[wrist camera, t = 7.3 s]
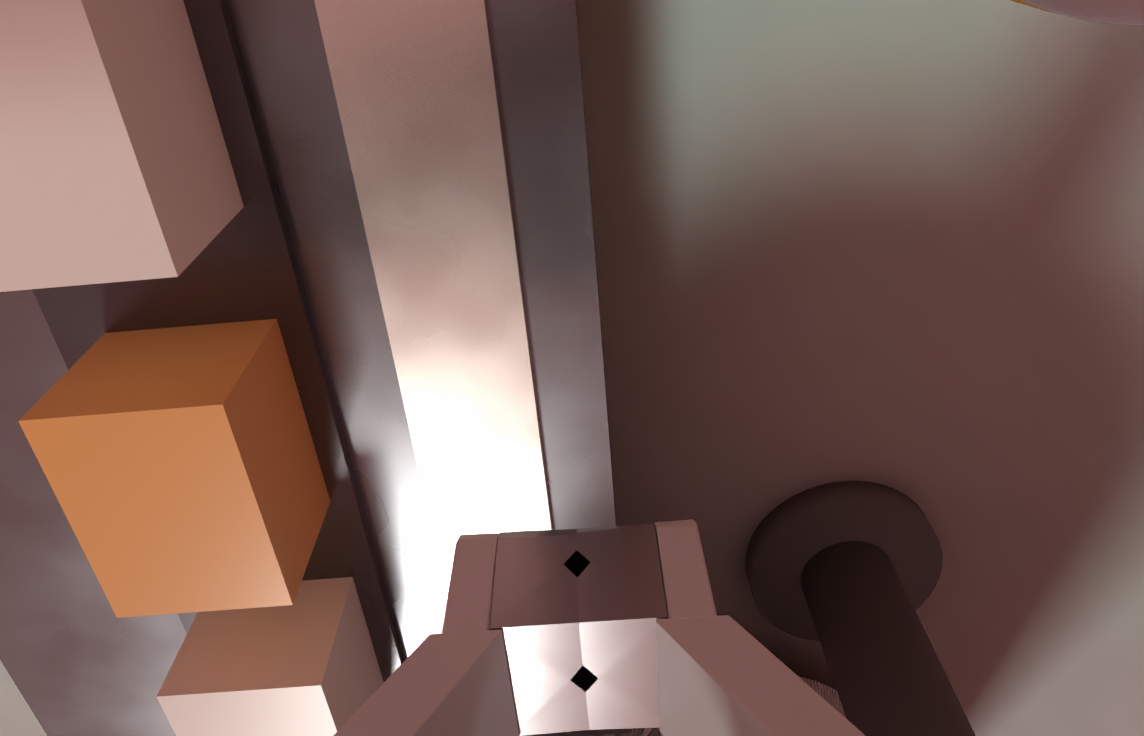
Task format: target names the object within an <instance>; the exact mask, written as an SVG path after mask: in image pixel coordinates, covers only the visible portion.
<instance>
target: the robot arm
mask: <svg viewBox="0 0 1144 736" xmlns="http://www.w3.org/2000/svg"><path fill="white" fill-rule="evenodd" d="M630 728H660V732H661V733H662V735H663V736H865V735H864V734H863V733H862V732H861V731H860V730H859V729H857V728H856V727H855V726H854V725H853V724H852V723H851V722H850V721H848V720H847V719H846V718H845V717H844V716H843V715H842V714H840V713H839V712H838V711H837V710H836V709H835V708H834V707H833V706H831V705H830V704H829V703H828V702H827V701H826V700H825V699H823V698H822V697H821V696H820V695H819V694H818V693H817V692H816V691H814V690H813V689H812V688H811V687H810V686H809V685H808V684H806V683H805V682H804V681H803V680H802V679H801V678H800V677H798V676H797V675H796V674H795V673H794V672H793V671H792V670H791V669H789V668H788V667H787V666H786V665H785V664H784V663H783V662H781V661H780V660H779V659H778V658H777V657H776V656H775V655H774V654H772V653H771V652H770V651H769V650H768V649H767V648H766V647H764V646H763V645H762V644H761V643H760V642H759V641H758V640H757V639H755V638H754V637H753V636H752V635H751V634H750V633H749V632H747V631H746V630H745V629H744V628H743V627H742V626H741V625H740V624H738V623H737V622H736V621H735V620H734V619H733V618H732V617H730V616H729V615H722V616H717V614H716V609H715V605H714V600H713V596H712V591H711V586H710V582H709V577H708V572H707V568H706V563H705V558H704V554H703V549H702V544H701V540H700V535H699V530H698V526H697V523H696V522H695V521H694V520H693V519H688V520H677V521H665V522H655V524H653V523H650V524H636V525H622V526H609V527H595V528H582V529H563V530H540V531H517V532H500V533H499V534H498V533H489V534H465V535H460V536H459V538H458V540H457V542H456V544H455V550H454V557H453V563H452V570H451V576H450V583H449V589H448V596H447V602H446V608H445V615H444V621H443V628H442V633H439V634H430V635H429V636H428V637H427V638H426V639H425V640H424V641H423V642H422V643H421V644H420V645H419V646H418V647H417V648H416V649H415V650H414V651H413V652H412V653H411V655H410V656H409V657H408V658H407V659H406V660H405V661H404V662H403V663H402V664H401V665H400V666H399V667H398V668H397V669H396V670H395V671H394V672H393V673H392V675H391V676H390V677H389V678H388V679H387V680H386V681H385V682H384V683H383V684H382V685H381V686H380V687H379V688H378V689H377V690H376V691H375V692H374V693H373V694H372V696H371V697H370V698H369V699H368V700H367V701H366V702H365V703H364V704H363V705H362V706H361V707H360V708H359V709H358V710H357V711H356V712H355V713H354V714H353V715H352V717H351V718H350V719H349V720H348V721H347V722H346V723H345V724H344V725H343V726H342V727H341V728H340V729H339V730H338V731H337V732H336V733H335V734H334V735H333V736H525V735H536V734H548V733H559V732H570V731H581V730H589V729H590V730H600V729H630Z"/></svg>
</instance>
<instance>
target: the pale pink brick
mask: <svg viewBox="0 0 1144 736" xmlns="http://www.w3.org/2000/svg"><path fill="white" fill-rule="evenodd" d="M383 683H384V682H383V679H382V675H381V672H380V668H379V665H378V662H377V658H376V655H375V651H374V648H373V645H372V641H371V638H370V634H369V631H368V628H367V624H366V621H365V617H364V614H363V611H362V607H361V604H360V600H359V597H358V594H357V590H356V587H355V583H354V580H353V577H345V578H331V579H318V580H304V581H301V584H300V587H299V589H298V592H297V595H296V598H295V600H294V603H293V605H287V606H273V607H259V608H245V609H232V610H218V611H204V612H198V613H197V615H196V617H195V619H194V621H193V623H192V625H191V627H190V629H189V631H188V633H187V635H186V637H185V639H184V641H183V643H182V645H181V648H180V650H179V652H178V654H177V656H176V658H175V660H174V662H173V664H172V666H171V668H170V670H169V672H168V674H167V676H166V678H165V680H164V682H163V684H162V686H161V688H160V691H159V693H158V695H157V699H158V701H159V703H160V705H161V707H162V709H163V711H164V713H165V715H166V717H167V719H168V721H169V723H170V725H171V727H172V729H173V731H174V733H175V735H176V736H333V735H334V734H335V733H336V732H337V731H338V730H339V729H340V728H341V727H342V726H343V725H344V724H345V723H346V722H347V721H348V720H349V719H350V718H351V717H352V715H353V714H354V713H355V712H356V711H357V710H358V709H359V708H360V707H361V706H362V705H363V704H364V703H365V702H366V701H367V700H368V699H369V698H370V697H371V696H372V694H373V693H374V692H375V691H376V690H377V689H378V688H379V687H380V686H381V685H382V684H383Z"/></svg>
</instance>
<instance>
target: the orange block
mask: <svg viewBox="0 0 1144 736" xmlns="http://www.w3.org/2000/svg"><path fill="white" fill-rule="evenodd" d="M18 422H19V424H20V426H21V428H22V430H23V432H24V434H25V436H26V438H27V440H28V442H29V444H30V446H31V448H32V450H33V452H34V454H35V456H36V458H37V460H38V462H39V464H40V466H41V468H42V470H43V472H44V474H45V476H46V477H47V479H48V481H49V483H50V485H51V487H52V489H53V491H54V493H55V495H56V497H57V499H58V501H59V503H60V505H61V507H62V509H63V511H64V513H65V515H66V517H67V519H68V521H69V523H70V525H71V527H72V529H73V531H74V533H75V535H76V537H77V539H78V541H79V543H80V545H81V547H82V549H83V551H84V553H85V555H86V557H87V559H88V561H89V563H90V565H91V567H92V569H93V571H94V573H95V575H96V577H97V579H98V581H99V583H100V585H101V587H102V589H103V591H104V593H105V595H106V597H107V599H108V601H109V603H110V605H111V607H112V609H113V611H114V613H115V615H116V617H117V618H121V617H135V616H149V615H163V614H176V613H190V612H204V611H218V610H232V609H245V608H259V607H273V606H287V605H293V603H294V600H295V598H296V595H297V592H298V589H299V587H300V584H301V581H302V578H303V576H304V573H305V570H306V567H307V565H308V562H309V559H310V556H311V554H312V551H313V548H314V545H315V543H316V540H317V537H318V534H319V532H320V529H321V526H322V523H323V521H324V518H325V515H326V512H327V510H328V507H329V504H330V498H329V495H328V491H327V488H326V485H325V481H324V478H323V474H322V471H321V468H320V464H319V461H318V457H317V454H316V451H315V447H314V444H313V440H312V437H311V433H310V430H309V427H308V423H307V420H306V416H305V413H304V410H303V406H302V403H301V399H300V396H299V393H298V389H297V386H296V382H295V379H294V376H293V372H292V369H291V365H290V362H289V359H288V355H287V352H286V348H285V345H284V342H283V338H282V335H281V331H280V328H279V325H278V321H277V319H267V320H255V321H243V322H231V323H219V324H207V325H195V326H183V327H171V328H159V329H147V330H135V331H123V332H111V333H104V334H103V335H102V336H101V337H100V338H99V339H98V340H97V341H96V342H95V343H94V344H93V345H92V346H91V347H90V349H89V350H88V351H87V352H86V353H85V354H84V355H83V356H82V357H81V358H80V359H79V360H78V361H77V362H76V363H75V364H74V365H73V366H72V367H71V368H70V369H69V370H68V371H67V372H66V373H65V374H64V375H63V376H62V377H61V378H60V379H59V380H58V381H57V382H56V383H55V384H54V385H53V386H52V387H51V388H50V389H49V390H48V391H47V392H46V393H45V394H44V395H43V396H42V397H41V398H40V399H39V400H38V401H37V402H36V403H35V404H34V405H33V406H32V407H31V408H30V409H29V410H28V411H27V412H26V413H25V414H24V415H23V416H22V417H21V418H20V419H19V421H18Z"/></svg>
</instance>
